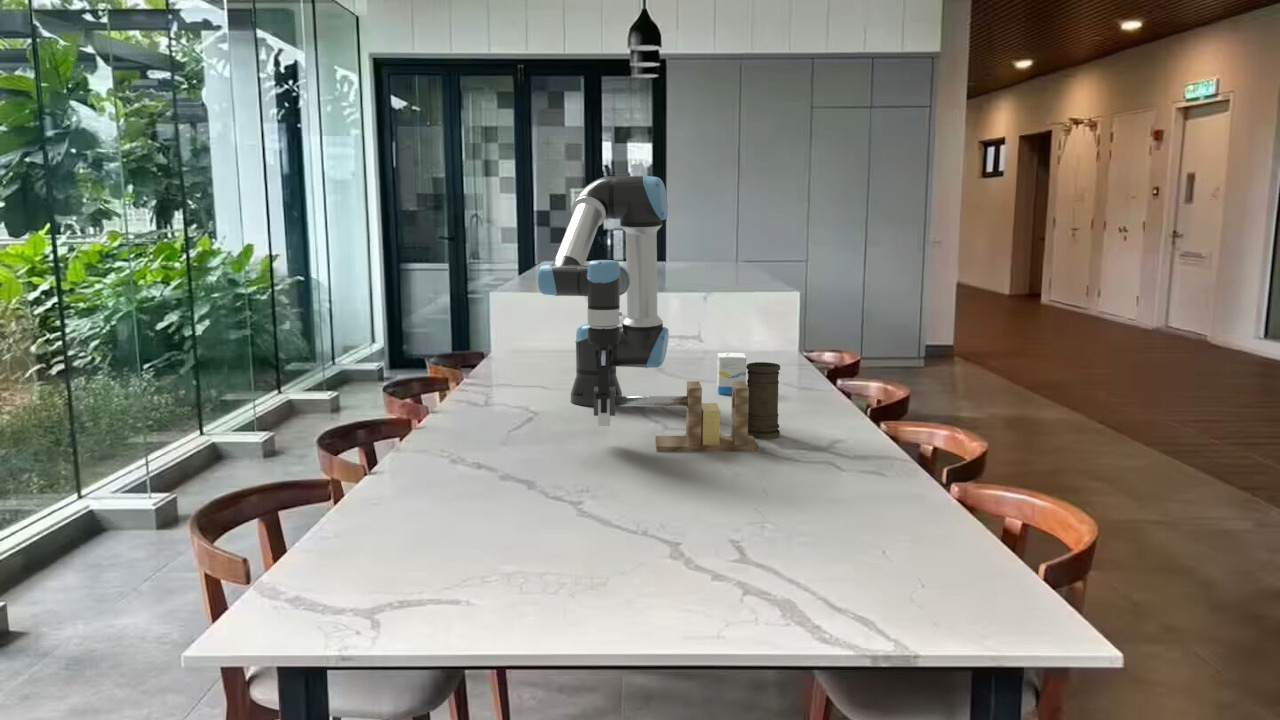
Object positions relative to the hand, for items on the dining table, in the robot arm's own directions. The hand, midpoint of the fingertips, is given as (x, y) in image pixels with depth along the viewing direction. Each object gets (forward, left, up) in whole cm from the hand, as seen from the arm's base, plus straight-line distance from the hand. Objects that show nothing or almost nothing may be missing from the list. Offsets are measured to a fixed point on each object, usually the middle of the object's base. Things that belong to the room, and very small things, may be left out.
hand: (604, 422), depth 221 cm
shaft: (+10, 0, +2) cm, 10 cm away
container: (+39, +11, -6) cm, 41 cm away
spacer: (+25, 0, -5) cm, 26 cm away
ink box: (+37, +63, -6) cm, 73 cm away
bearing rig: (+24, 0, -6) cm, 25 cm away
